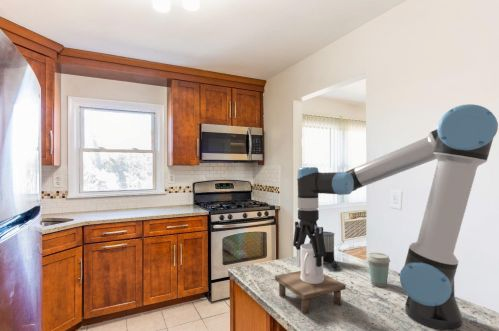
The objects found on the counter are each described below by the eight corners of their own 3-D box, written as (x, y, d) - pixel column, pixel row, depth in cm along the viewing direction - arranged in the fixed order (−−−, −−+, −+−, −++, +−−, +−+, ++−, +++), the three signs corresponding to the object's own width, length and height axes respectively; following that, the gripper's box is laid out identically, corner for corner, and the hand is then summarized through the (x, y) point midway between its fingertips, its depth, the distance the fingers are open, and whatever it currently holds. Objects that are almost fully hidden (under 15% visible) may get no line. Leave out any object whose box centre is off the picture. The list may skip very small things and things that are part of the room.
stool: (345, 304, 96) (345, 284, 96) (303, 316, 88) (303, 294, 88) (313, 285, 112) (312, 268, 112) (275, 294, 104) (275, 275, 105)
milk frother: (323, 257, 148) (323, 230, 148) (350, 265, 136) (350, 235, 136) (306, 263, 139) (306, 234, 139) (333, 272, 127) (333, 240, 127)
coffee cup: (392, 290, 107) (391, 259, 108) (368, 287, 110) (368, 257, 111) (388, 281, 116) (388, 253, 116) (366, 279, 118) (366, 251, 119)
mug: (313, 290, 92) (313, 254, 92) (291, 283, 98) (291, 249, 97) (327, 277, 102) (327, 245, 101) (306, 272, 107) (306, 241, 107)
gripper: (337, 212, 93) (337, 279, 92) (299, 205, 112) (299, 260, 112) (319, 213, 89) (320, 283, 89) (283, 206, 109) (284, 263, 109)
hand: (308, 270), depth 100 cm, fingers open, 9 cm apart
